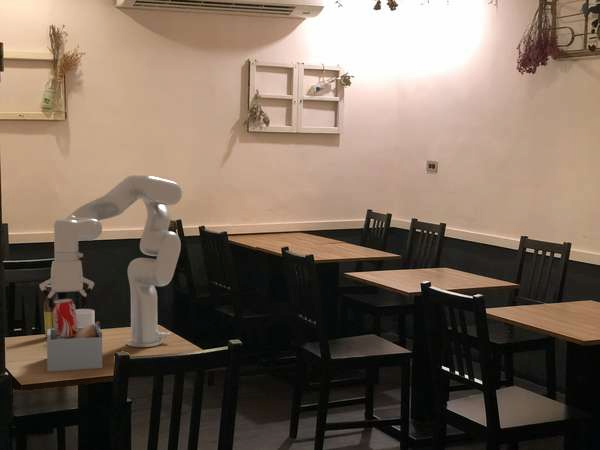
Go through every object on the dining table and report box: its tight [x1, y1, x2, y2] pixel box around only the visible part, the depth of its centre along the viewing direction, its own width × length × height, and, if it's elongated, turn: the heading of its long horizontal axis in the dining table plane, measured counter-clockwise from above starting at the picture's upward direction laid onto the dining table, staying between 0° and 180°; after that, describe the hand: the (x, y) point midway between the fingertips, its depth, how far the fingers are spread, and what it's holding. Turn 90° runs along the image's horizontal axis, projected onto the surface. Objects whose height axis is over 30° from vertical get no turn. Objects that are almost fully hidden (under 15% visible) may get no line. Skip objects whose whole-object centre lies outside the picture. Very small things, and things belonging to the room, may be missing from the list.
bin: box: [46, 321, 104, 373], centre depth 263 cm, size 17×18×12 cm
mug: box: [75, 308, 96, 327], centre depth 296 cm, size 12×9×11 cm
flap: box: [56, 324, 97, 339], centre depth 263 cm, size 13×15×1 cm
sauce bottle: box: [43, 284, 60, 338], centre depth 300 cm, size 6×6×20 cm
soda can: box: [53, 298, 78, 338], centre depth 262 cm, size 7×7×12 cm
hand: (67, 308), depth 262 cm, fingers open, 9 cm apart
